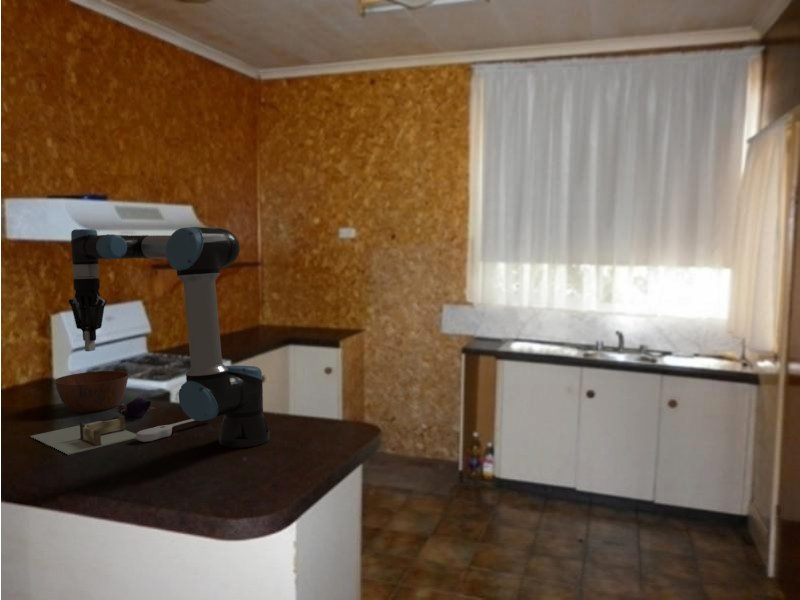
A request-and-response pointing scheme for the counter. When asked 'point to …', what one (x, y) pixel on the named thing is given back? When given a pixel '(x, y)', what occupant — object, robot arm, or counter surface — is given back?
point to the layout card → (72, 442)
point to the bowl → (92, 390)
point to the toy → (135, 408)
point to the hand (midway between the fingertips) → (90, 350)
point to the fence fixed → (90, 434)
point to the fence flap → (109, 425)
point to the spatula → (157, 432)
